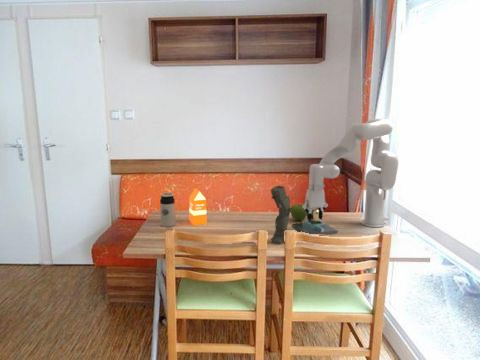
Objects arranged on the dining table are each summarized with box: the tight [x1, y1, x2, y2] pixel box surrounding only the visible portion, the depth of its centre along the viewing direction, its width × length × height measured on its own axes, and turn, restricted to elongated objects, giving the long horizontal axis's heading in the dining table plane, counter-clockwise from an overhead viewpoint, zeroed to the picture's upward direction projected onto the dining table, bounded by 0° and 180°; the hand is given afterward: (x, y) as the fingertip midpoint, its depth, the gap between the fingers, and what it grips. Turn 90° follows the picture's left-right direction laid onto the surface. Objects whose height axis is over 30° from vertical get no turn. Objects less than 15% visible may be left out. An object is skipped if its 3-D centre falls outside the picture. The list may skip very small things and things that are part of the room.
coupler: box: [311, 208, 320, 224], centre depth 197 cm, size 4×5×10 cm
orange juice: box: [188, 187, 208, 226], centre depth 208 cm, size 8×9×20 cm
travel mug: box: [159, 192, 176, 228], centre depth 204 cm, size 8×8×18 cm
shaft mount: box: [291, 219, 339, 235], centre depth 198 cm, size 18×18×4 cm
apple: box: [290, 203, 308, 222], centre depth 214 cm, size 11×10×10 cm
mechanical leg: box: [270, 185, 291, 245], centre depth 178 cm, size 14×7×30 cm, turn 141°
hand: (314, 219), depth 197 cm, fingers open, 6 cm apart
